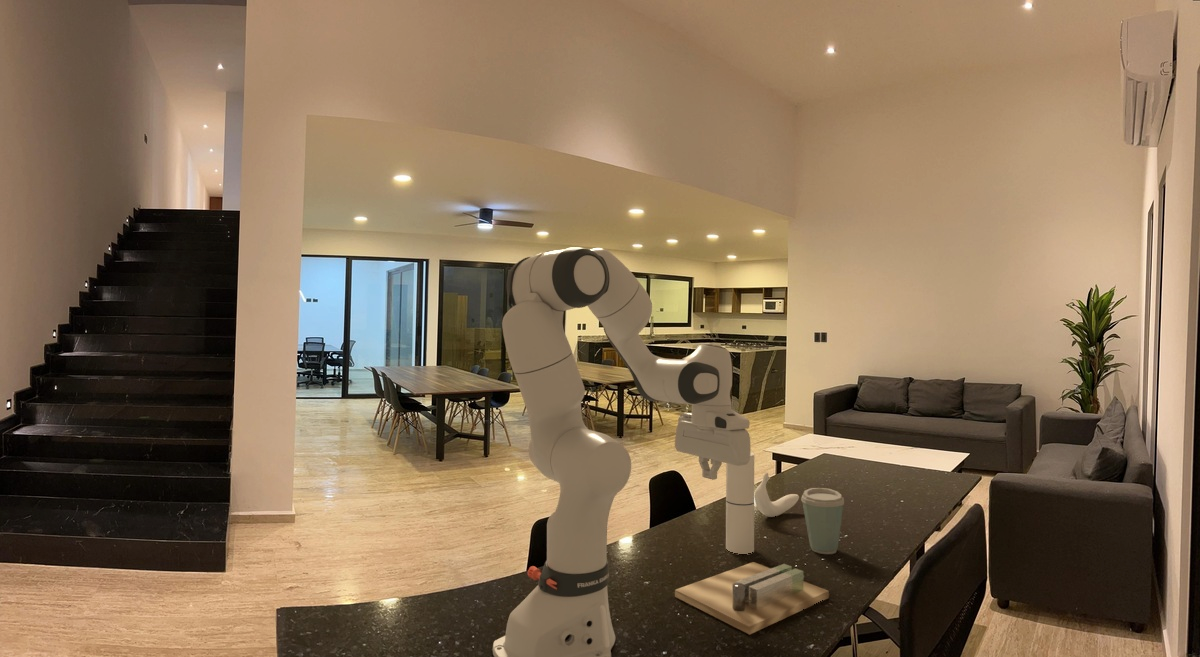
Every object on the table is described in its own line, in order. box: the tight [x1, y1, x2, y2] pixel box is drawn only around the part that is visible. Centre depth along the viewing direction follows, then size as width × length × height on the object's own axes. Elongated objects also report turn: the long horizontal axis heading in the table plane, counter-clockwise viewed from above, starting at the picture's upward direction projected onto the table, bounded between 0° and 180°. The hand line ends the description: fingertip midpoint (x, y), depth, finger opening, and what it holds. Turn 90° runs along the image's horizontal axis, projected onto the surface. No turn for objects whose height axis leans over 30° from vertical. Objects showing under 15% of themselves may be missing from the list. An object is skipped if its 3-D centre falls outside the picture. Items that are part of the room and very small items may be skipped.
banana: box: [754, 472, 800, 518], centre depth 186 cm, size 5×19×15 cm, turn 130°
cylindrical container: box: [725, 451, 755, 555], centre depth 158 cm, size 7×7×25 cm
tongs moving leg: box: [732, 563, 793, 611], centre depth 126 cm, size 19×4×5 cm, turn 127°
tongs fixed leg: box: [749, 568, 804, 610], centre depth 126 cm, size 16×2×4 cm, turn 127°
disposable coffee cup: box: [800, 487, 845, 555], centre depth 157 cm, size 11×11×15 cm
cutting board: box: [674, 561, 830, 636], centre depth 130 cm, size 26×20×2 cm
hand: (709, 478), depth 137 cm, fingers closed
